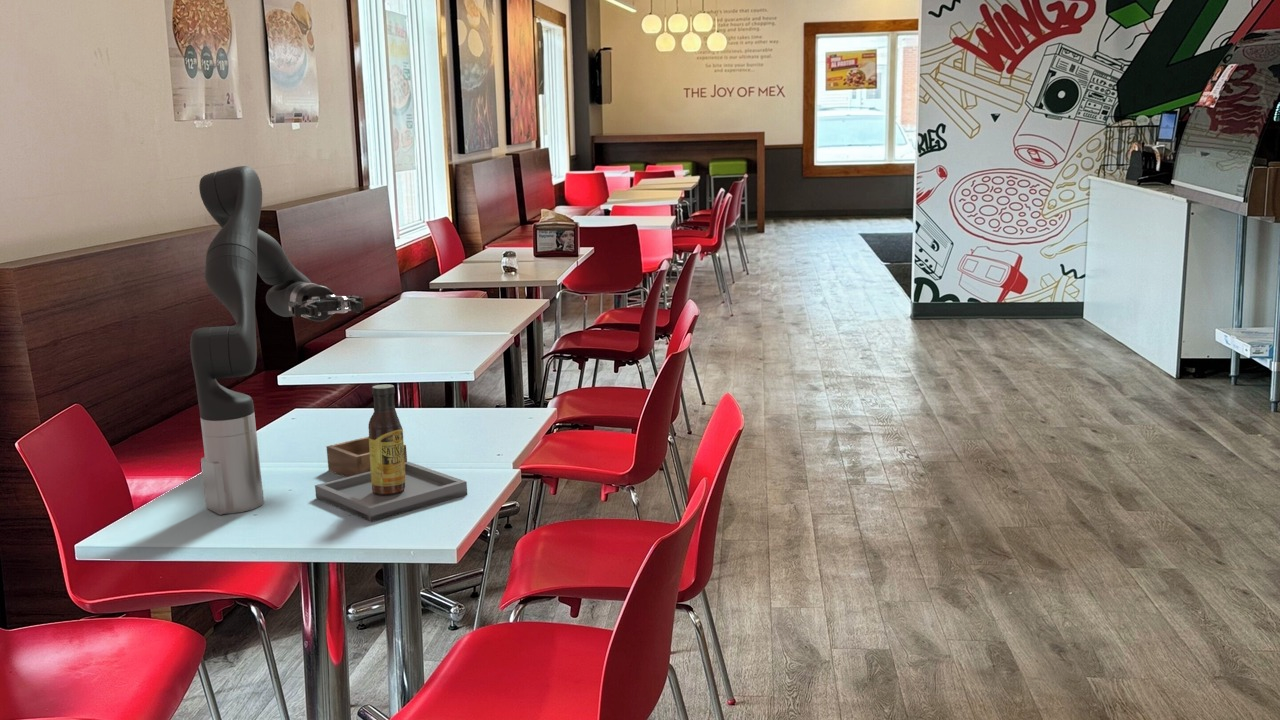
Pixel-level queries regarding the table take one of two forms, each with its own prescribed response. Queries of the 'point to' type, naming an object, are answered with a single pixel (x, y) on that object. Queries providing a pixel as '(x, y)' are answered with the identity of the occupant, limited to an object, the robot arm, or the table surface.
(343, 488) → the serving tray
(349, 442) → the condiment box
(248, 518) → the table surface
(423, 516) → the table surface
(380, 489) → the sauce bottle
